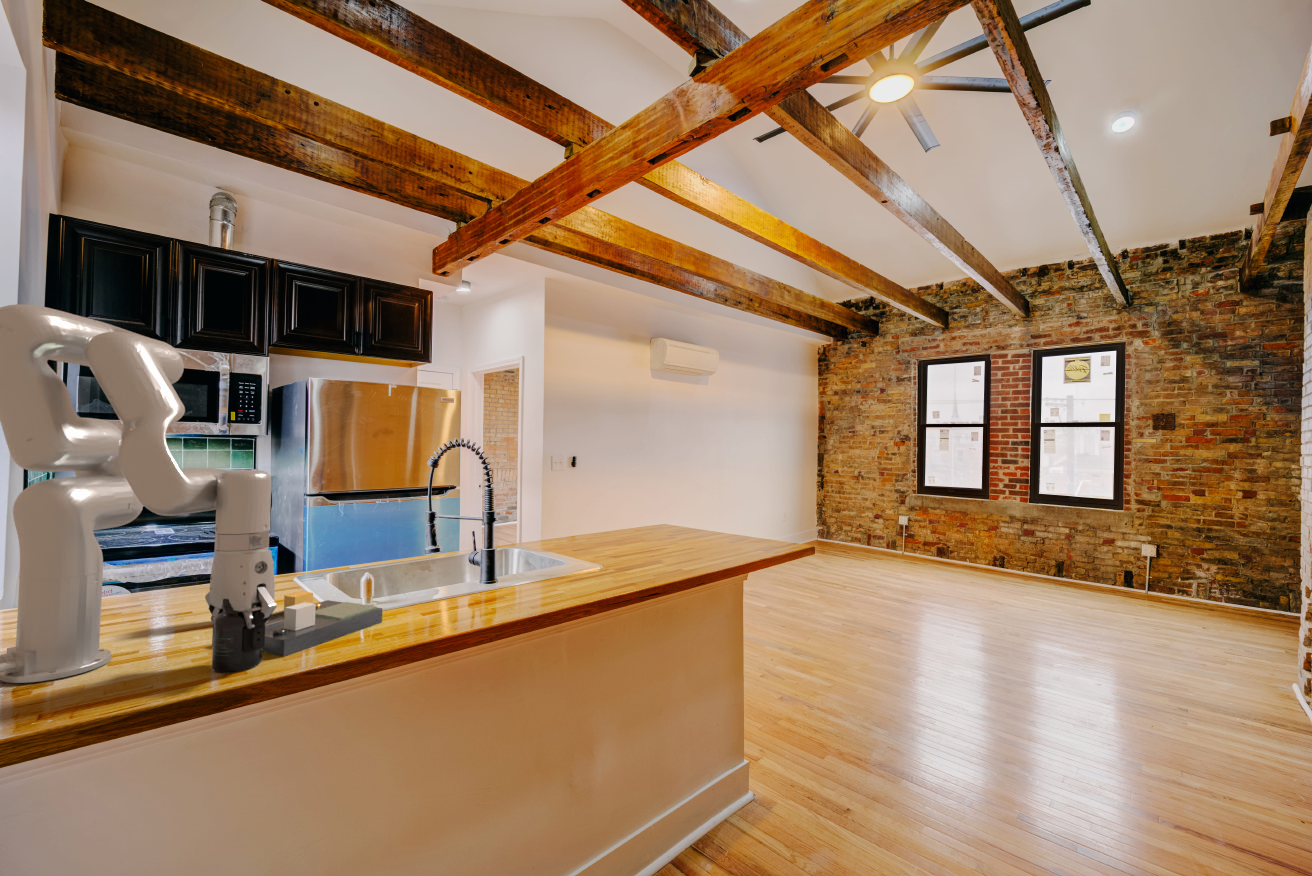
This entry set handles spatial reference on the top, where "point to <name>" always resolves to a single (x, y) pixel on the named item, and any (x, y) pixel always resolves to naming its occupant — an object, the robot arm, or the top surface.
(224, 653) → the supplement bottle
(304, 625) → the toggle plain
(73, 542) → the robot arm
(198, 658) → the top surface
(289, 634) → the panel
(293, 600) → the block
